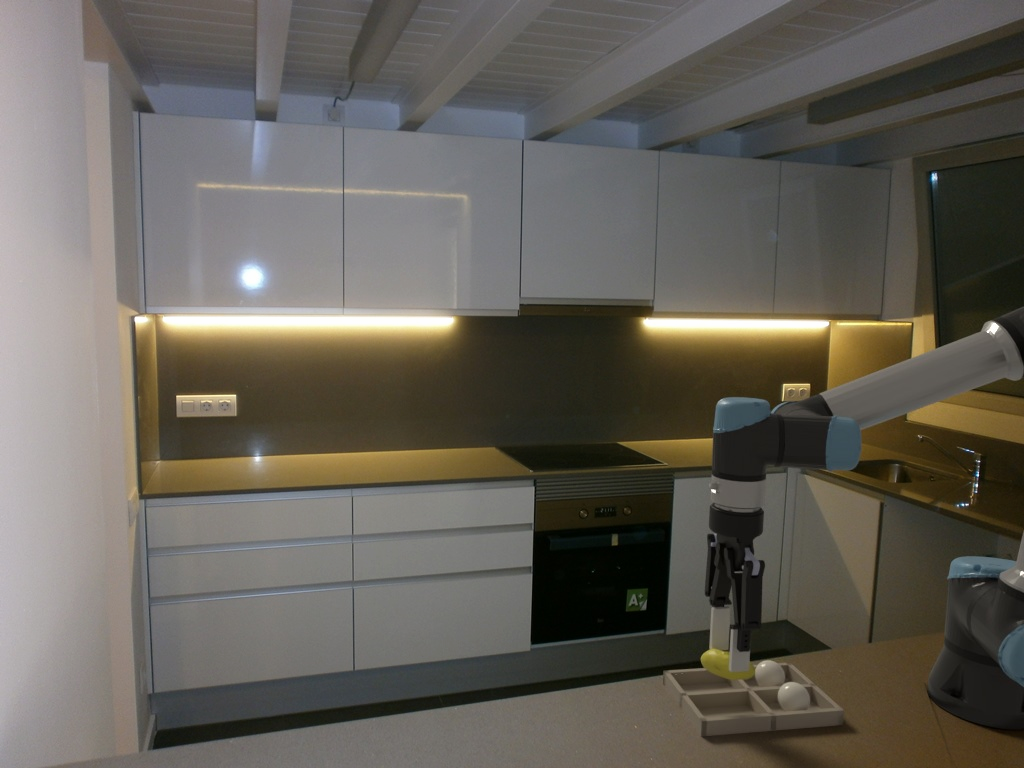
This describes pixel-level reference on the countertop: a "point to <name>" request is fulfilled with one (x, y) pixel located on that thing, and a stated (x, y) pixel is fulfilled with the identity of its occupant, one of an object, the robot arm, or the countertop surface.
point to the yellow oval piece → (723, 665)
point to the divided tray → (746, 703)
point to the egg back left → (793, 697)
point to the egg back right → (769, 674)
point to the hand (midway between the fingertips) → (728, 659)
